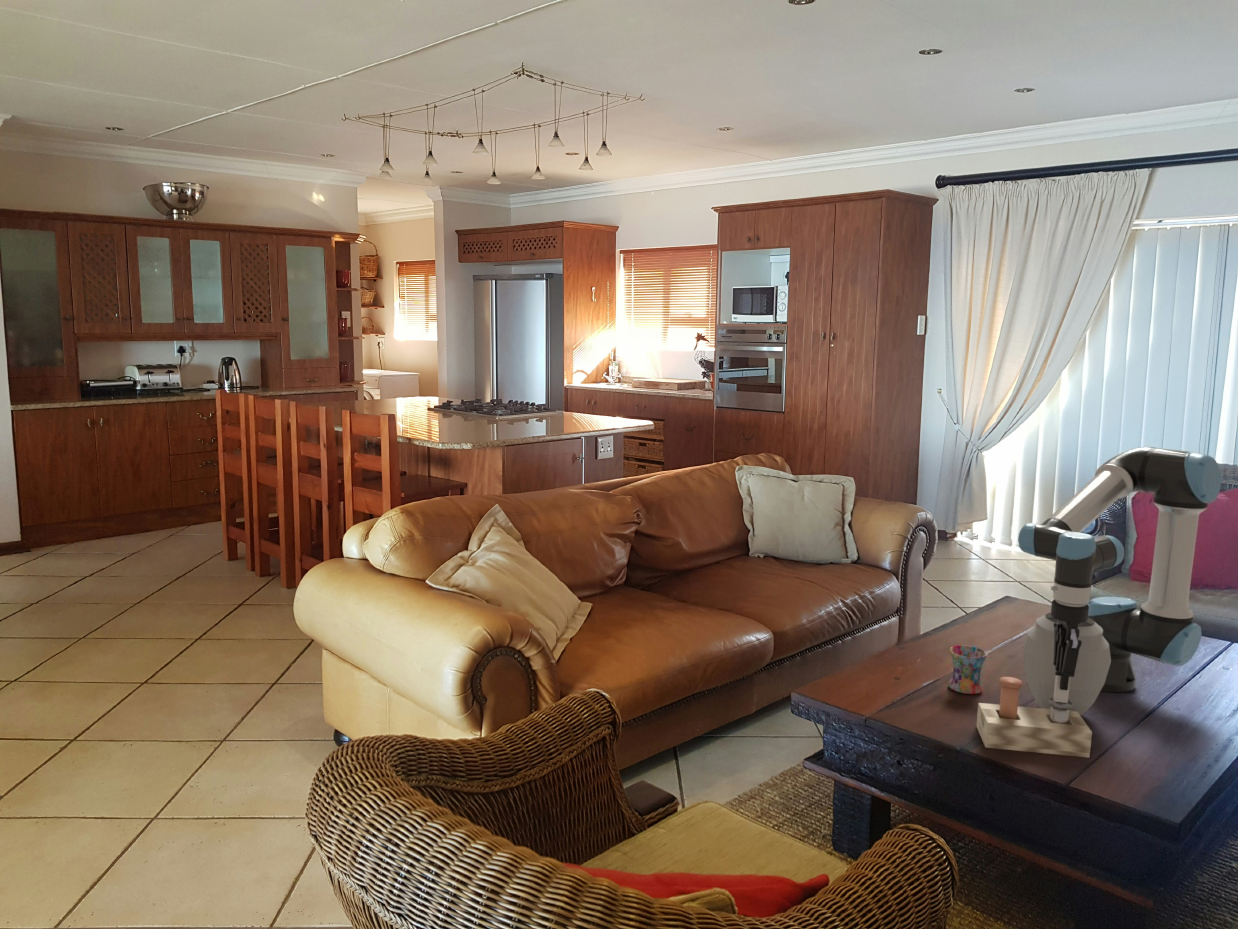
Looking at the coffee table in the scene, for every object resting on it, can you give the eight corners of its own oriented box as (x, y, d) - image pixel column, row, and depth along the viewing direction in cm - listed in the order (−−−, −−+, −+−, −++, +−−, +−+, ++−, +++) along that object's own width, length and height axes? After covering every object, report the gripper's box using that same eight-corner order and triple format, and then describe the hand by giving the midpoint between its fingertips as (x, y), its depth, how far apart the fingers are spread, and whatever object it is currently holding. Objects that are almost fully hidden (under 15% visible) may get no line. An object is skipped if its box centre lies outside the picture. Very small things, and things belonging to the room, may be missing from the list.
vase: (1100, 738, 214) (1111, 639, 210) (1011, 718, 224) (1020, 622, 220) (1107, 708, 230) (1117, 615, 226) (1024, 690, 240) (1032, 601, 236)
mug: (973, 700, 234) (977, 660, 232) (940, 689, 241) (942, 650, 239) (995, 687, 242) (998, 649, 240) (961, 677, 249) (964, 640, 247)
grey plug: (1065, 734, 212) (1068, 698, 211) (1071, 743, 207) (1074, 707, 206) (1043, 732, 213) (1046, 696, 212) (1048, 741, 208) (1052, 705, 207)
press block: (1075, 735, 215) (1077, 711, 214) (1089, 757, 204) (1092, 732, 203) (976, 726, 219) (978, 702, 218) (985, 747, 208) (987, 722, 207)
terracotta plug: (1016, 713, 214) (1019, 677, 212) (1021, 722, 209) (1024, 686, 207) (994, 711, 214) (997, 676, 213) (999, 720, 210) (1002, 684, 208)
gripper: (1045, 592, 212) (1035, 688, 216) (1060, 609, 199) (1050, 711, 203) (1079, 594, 210) (1069, 691, 214) (1097, 612, 198) (1086, 714, 202)
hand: (1060, 701), depth 209 cm, fingers closed
